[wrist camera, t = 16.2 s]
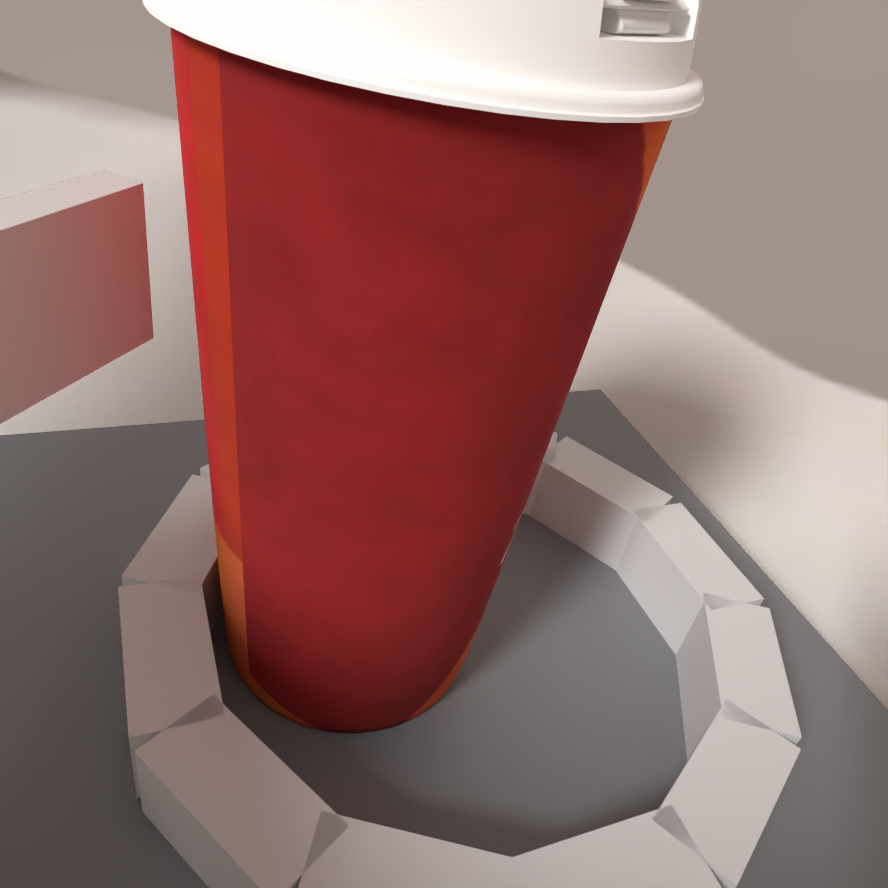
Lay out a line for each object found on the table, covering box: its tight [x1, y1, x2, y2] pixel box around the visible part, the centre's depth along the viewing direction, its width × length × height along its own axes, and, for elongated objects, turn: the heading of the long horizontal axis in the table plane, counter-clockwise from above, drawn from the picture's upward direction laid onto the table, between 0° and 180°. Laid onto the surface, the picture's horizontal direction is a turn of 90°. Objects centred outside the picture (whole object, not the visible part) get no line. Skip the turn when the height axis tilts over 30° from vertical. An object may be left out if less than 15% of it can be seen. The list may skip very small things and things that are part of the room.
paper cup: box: [143, 0, 704, 733], centre depth 14 cm, size 8×8×14 cm
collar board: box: [0, 390, 888, 888], centre depth 18 cm, size 20×20×4 cm
